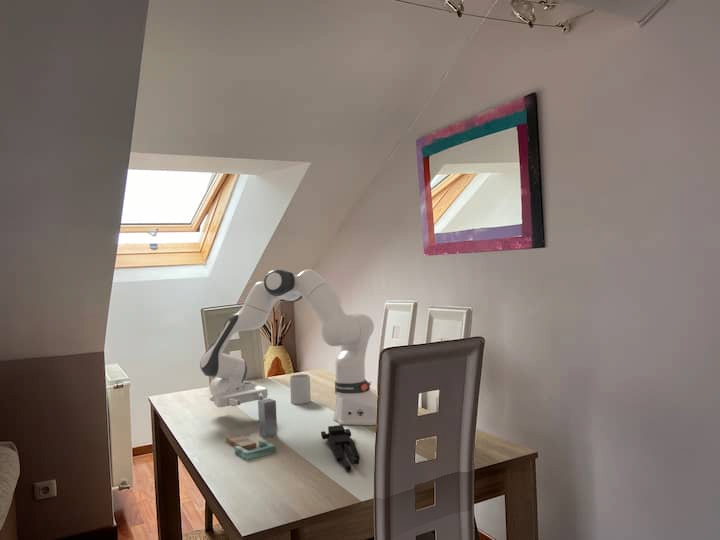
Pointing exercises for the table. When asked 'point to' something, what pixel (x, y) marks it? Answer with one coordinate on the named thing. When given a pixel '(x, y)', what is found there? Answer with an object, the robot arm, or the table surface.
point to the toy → (341, 445)
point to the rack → (250, 447)
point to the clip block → (267, 418)
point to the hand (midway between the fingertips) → (250, 400)
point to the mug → (300, 389)
